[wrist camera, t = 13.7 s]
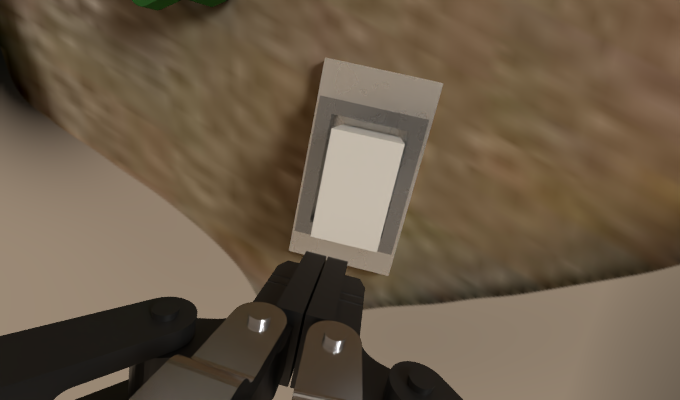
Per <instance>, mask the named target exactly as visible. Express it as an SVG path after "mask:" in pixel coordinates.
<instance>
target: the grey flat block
mask: <svg viewBox="0 0 680 400" xmlns="http://www.w3.org/2000/svg"><path fill="white" fill-rule="evenodd" d="M442 86H443V83H440V82H436V81H431V80H426V79H422V78H417V77H413V76H408V75H403V74H399V73H394V72H390V71H385V70H380V69H376V68H371V67H367V66H362V65H357V64H353V63H348V62H344V61H339V60H334V59H330V58H325V60H324V65H323V71H322V76H321V81H320V87H319V92H318V97H317V103H316V108H315V113H314V119H313V124H312V129H311V135H310V140H309V145H308V151H307V156H306V161H305V167H304V172H303V177H302V183H301V188H300V193H299V199H298V204H297V209H296V215H295V220H294V225H293V231H292V236H291V241H290V247H289V251H292V252H296V253H300V254H305V252H306V251H309V252H313V253H317V254H321V255H325V256H327V257H326V260H327V258H328V256H329V257H333V258H337V259H341V260H345V261H348V264H347V266H351V267H355V268H359V269H363V270H367V271H371V272H374V273H378V274H382V275H386V276H389V272H390V269H391V265H392V262H393V258H394V255H395V251H396V248H397V244H398V241H399V237H400V234H401V230H402V227H403V223H404V220H405V216H406V213H407V209H408V206H409V202H410V199H411V195H412V192H413V188H414V185H415V181H416V178H417V174H418V171H419V167H420V164H421V160H422V157H423V153H424V149H425V146H426V142H427V139H428V135H429V132H430V128H431V125H432V121H433V118H434V114H435V111H436V107H437V104H438V100H439V97H440V93H441V90H442ZM342 124H346V125H350V126H355V127H360V128H364V129H369V130H373V131H378V132H382V133H387V134H391V135H396V136H400V138H401V139H402V141H403V142H404V144H405V145H404V149H403V153H402V157H401V161H400V165H399V169H398V173H397V176H396V180H395V184H394V188H393V192H392V196H391V200H390V203H389V207H388V211H387V215H386V219H385V223H384V227H383V230H382V234H381V238H380V242H379V246H378V250H377V252H373V251H368V250H364V249H360V248H356V247H352V246H348V245H344V244H340V243H335V242H331V241H327V240H323V239H319V238H315V237H311V231H312V226H313V221H314V216H315V211H316V206H317V200H318V195H319V190H320V185H321V180H322V175H323V170H324V165H325V160H326V155H327V149H328V144H329V139H330V134H331V129H332V128H334V127H336V126H339V125H342Z"/></svg>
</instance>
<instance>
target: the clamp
mask: <svg viewBox="0 0 680 400" xmlns="http://www.w3.org/2000/svg"><path fill="white" fill-rule="evenodd" d="M132 1H133V2H134V3H135V4H136V5H138V6H141V7H145V8H150V9H154V10H161V9H163V8H165V7H167V6H169V5H172V4H174V3H176V2H178V1H180V0H132ZM190 1H194V2H197V3H200V4H203V5H206V6H210V7H213V6H216V5H218V4H220V3H223V2H225V1H227V0H190Z"/></svg>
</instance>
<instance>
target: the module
mask: <svg viewBox="0 0 680 400" xmlns="http://www.w3.org/2000/svg"><path fill="white" fill-rule="evenodd" d="M404 145H405V144H404V142H403V141H402V139H401V138H400V136H396V135H391V134H387V133H382V132H378V131H373V130H369V129H364V128H360V127H355V126H350V125H346V124H342V125H339V126H336V127H334V128H332V129H331V134H330V139H329V144H328V149H327V155H326V160H325V165H324V170H323V175H322V180H321V185H320V190H319V195H318V200H317V206H316V211H315V216H314V221H313V226H312V231H311V237H315V238H319V239H323V240H327V241H331V242H335V243H340V244H344V245H348V246H352V247H356V248H360V249H364V250H368V251H373V252H377V250H378V246H379V242H380V238H381V234H382V230H383V227H384V223H385V219H386V215H387V211H388V207H389V203H390V200H391V196H392V192H393V188H394V184H395V180H396V176H397V173H398V169H399V165H400V161H401V157H402V153H403V149H404Z"/></svg>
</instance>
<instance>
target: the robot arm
mask: <svg viewBox="0 0 680 400" xmlns="http://www.w3.org/2000/svg"><path fill="white" fill-rule="evenodd" d="M326 257H327V256H325V255H321V254H317V253H313V252H309V251H306V252H305V254H304V256H303V258H302V260H301V261H300V263H296V262H292V261H286V262H284V263H282V264H280V265H278V266H277V268H276V269H275V271H274V272H273V273H272V275H271V276H270V278H269V279H268V282H266V284H265V285H264V287H263V288H262V289H261V291H260V292H259V294H258V295H257V297H256V298H255V300H254V301H253V302H250V303H246V304H243V305H241V306H239V307H237V308H236V309H235V310H234V311H233V312H232V313H231V314H230V315H229V316H228V318H225V319H203V318H202V319H201V318H197V309H196V307H195V305H194V304H193V303H191V302H190V301H188V300H185V299H182V298H178V297H161V298H156V299H151V300H147V301H143V302H139V303H135V304H131V305H126V306H122V307H118V308H114V309H110V310H106V311H102V312H98V313H94V314H89V315H85V316H81V317H77V318H73V319H69V320H65V321H61V322H56V323H52V324H48V325H44V326H40V327H36V328H32V329H28V330H24V331H20V332H15V333H11V334H7V335H3V336H0V400H54V399H55V398H56V397H57V396H58V395H59V394H61V393H62V392H63V391H65V390H67V389H69V388H72V387H75V386H77V385H80V384H83V383H86V382H89V381H91V380H94V379H97V378H100V377H103V376H105V375H108V374H111V373H114V372H116V371H119V370H122V369H125V368H128V367H129V379H128V380H126V381H123V382H120V383H118V384H115V385H113V386H110V387H107V388H105V389H102V390H100V391H97V392H94V393H92V394H89V395H86V396H84V397H81V398H78V399H76V400H272V399H273V398H274V396H275V393H276V391H277V388H278V385H283V386H288V384H289V382H290V379H291V376H292V373H293V376H292V381H291V386H290V387H291V388H294V393H293V397H292V400H463V399H462V398H461V397H460V396H459V395H458V394H457V393H456V392H455V391H454V390H453V389H452V388H451V387H450V386H449V385H448V384H447V383H446V382H445V381H444V380H443V378H441V377H440V376H439V375H438V374H437V373H436V372H435V371H433V370H432V369H430V368H429V367H427V366H425V365H422V364H420V363H416V362H411V361H404V362H399V363H397V364H395V365H394V366H393V367H392V368H391V369H389V368H387V367H385V366H384V365H382V364H380V363H378V362H377V361H375V360H374V359H372V358H371V357H370V356H369V355H368V354H367V353H366V352H365V351H364V349H363V347H362V342H361V339H360V328H361V319H362V310H363V301H364V292H365V287H364V286H363V284H362V282H361V280H360V279H358V278H354V277H351V276H347V275H345V272H346V268H347V264H348V261H345V260H341V259H337V258H333V257H329V256H328V258H327V261H326ZM293 370H294V372H293Z"/></svg>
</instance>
